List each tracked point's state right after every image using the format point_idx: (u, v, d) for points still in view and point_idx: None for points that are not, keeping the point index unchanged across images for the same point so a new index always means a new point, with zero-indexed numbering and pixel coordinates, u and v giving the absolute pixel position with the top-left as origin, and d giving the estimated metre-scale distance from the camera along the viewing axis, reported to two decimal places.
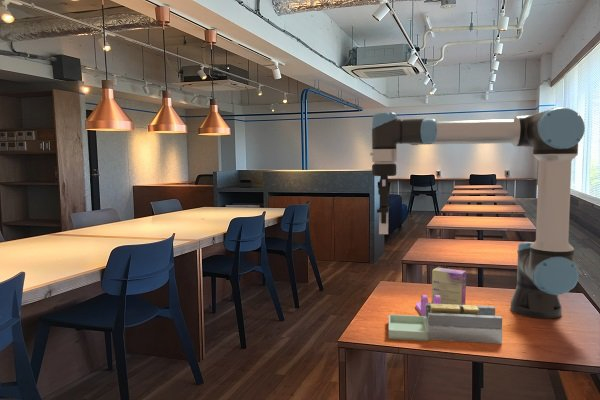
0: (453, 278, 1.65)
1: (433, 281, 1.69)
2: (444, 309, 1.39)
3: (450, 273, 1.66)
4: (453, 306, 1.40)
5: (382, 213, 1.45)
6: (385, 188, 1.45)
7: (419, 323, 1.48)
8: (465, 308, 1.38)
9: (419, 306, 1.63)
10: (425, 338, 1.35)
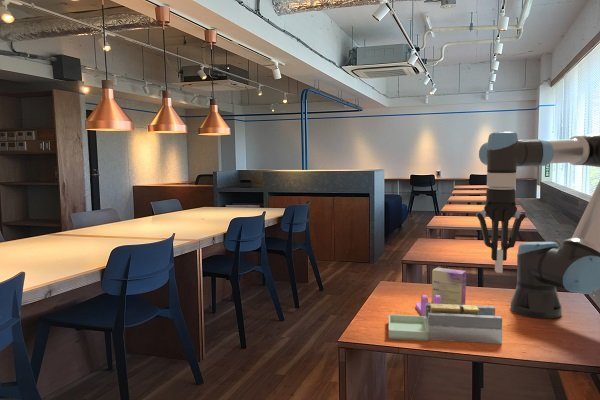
0: (453, 278, 1.65)
1: (433, 281, 1.69)
2: (444, 309, 1.39)
3: (450, 273, 1.66)
4: (453, 306, 1.40)
5: (491, 248, 1.37)
6: (480, 222, 1.36)
7: (419, 323, 1.48)
8: (465, 308, 1.38)
9: (419, 306, 1.63)
10: (425, 338, 1.35)
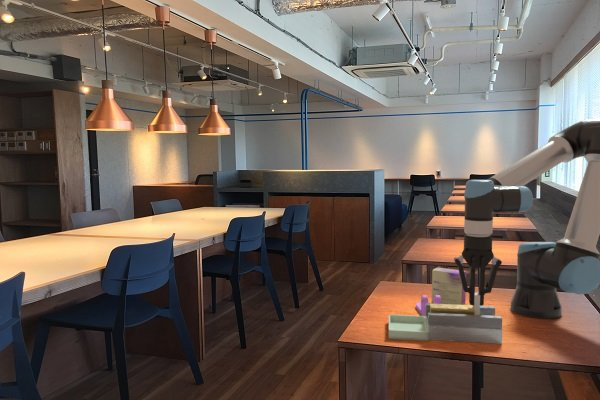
0: (453, 278, 1.65)
1: (433, 281, 1.69)
2: (444, 309, 1.39)
3: (450, 273, 1.66)
4: (453, 306, 1.40)
5: (469, 293, 1.39)
6: (458, 268, 1.38)
7: (419, 323, 1.48)
8: (461, 308, 1.38)
9: (419, 306, 1.62)
10: (425, 338, 1.35)
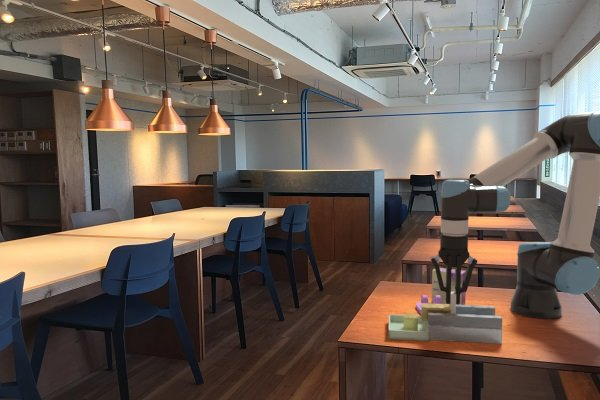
0: (453, 278, 1.65)
1: (433, 281, 1.69)
2: (404, 318, 1.41)
3: None
4: (429, 305, 1.41)
5: None
6: (435, 267, 1.39)
7: (419, 323, 1.48)
8: (437, 307, 1.39)
9: (419, 306, 1.62)
10: (425, 338, 1.35)
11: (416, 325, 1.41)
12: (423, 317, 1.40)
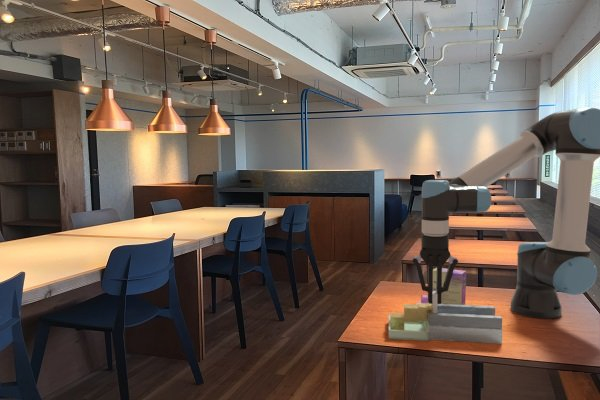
0: (453, 278, 1.65)
1: (433, 281, 1.69)
2: (391, 318, 1.42)
3: None
4: (412, 306, 1.42)
5: None
6: None
7: (419, 323, 1.48)
8: (419, 306, 1.40)
9: None
10: (425, 338, 1.35)
11: (403, 324, 1.41)
12: (406, 318, 1.41)
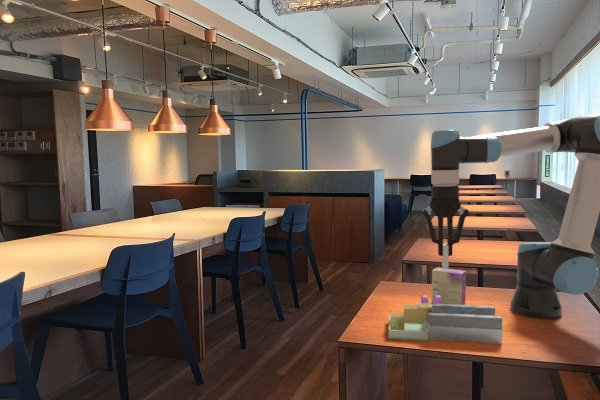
0: (453, 278, 1.65)
1: (433, 281, 1.69)
2: (391, 318, 1.42)
3: (450, 273, 1.66)
4: (412, 306, 1.42)
5: (438, 244, 1.40)
6: (426, 219, 1.39)
7: (419, 323, 1.48)
8: (419, 307, 1.40)
9: None
10: (425, 338, 1.35)
11: (403, 324, 1.41)
12: (406, 319, 1.41)
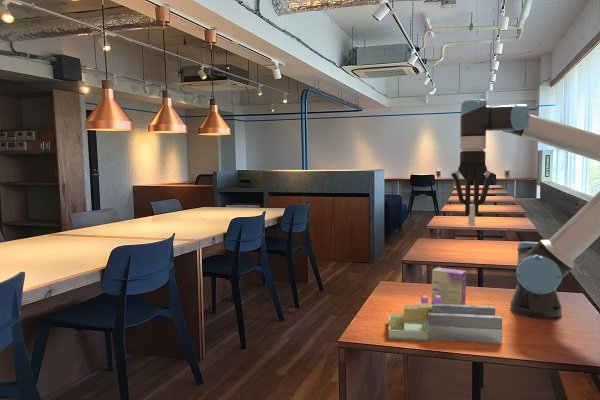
0: (453, 278, 1.65)
1: (433, 281, 1.69)
2: (391, 318, 1.42)
3: (450, 273, 1.66)
4: (412, 306, 1.42)
5: (465, 205, 1.54)
6: (455, 181, 1.53)
7: (419, 323, 1.48)
8: (419, 307, 1.40)
9: None
10: (425, 338, 1.35)
11: (403, 324, 1.41)
12: (406, 319, 1.41)
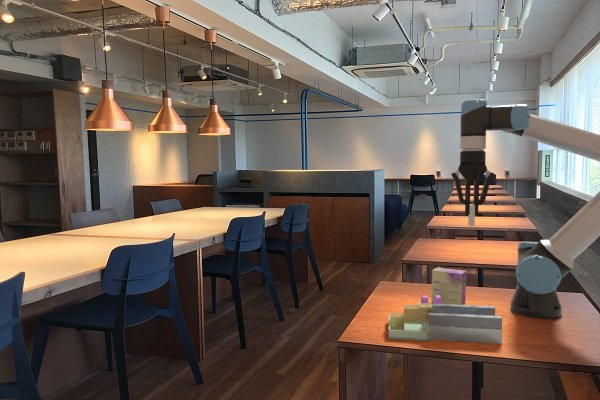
0: (453, 278, 1.65)
1: (433, 281, 1.69)
2: (391, 318, 1.42)
3: (450, 273, 1.66)
4: (412, 306, 1.42)
5: (465, 205, 1.54)
6: (455, 181, 1.53)
7: (419, 323, 1.48)
8: (419, 307, 1.40)
9: None
10: (425, 338, 1.35)
11: (403, 324, 1.41)
12: (406, 319, 1.41)
